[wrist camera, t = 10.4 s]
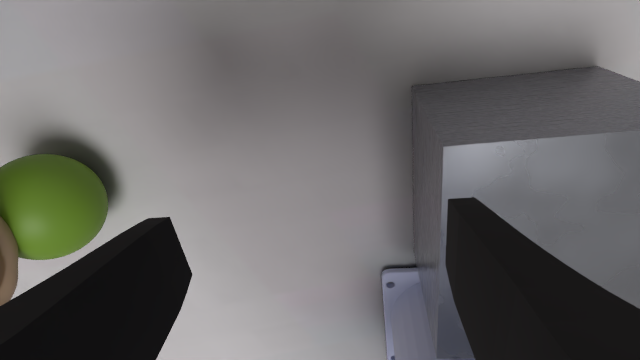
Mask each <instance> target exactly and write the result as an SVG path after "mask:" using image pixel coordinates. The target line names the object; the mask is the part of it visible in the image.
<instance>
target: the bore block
mask: <svg viewBox="0 0 640 360" xmlns="http://www.w3.org/2000/svg"><path fill="white" fill-rule="evenodd" d="M412 140H413V230H414V256H415V260H416V265H417V270H418V274H419V279H420V284H421V288H422V293H423V298H424V302H425V307H426V312H427V316H428V321H429V326H430V330H431V335H432V340H433V344H434V349H435V354H436V358H437V359H453V358H474V355H473V352H472V350H471V347H470V344H469V341H468V339H467V336H466V333H465V331H464V328H463V325H462V322H461V320H460V317H459V314H458V311H457V308H456V306H455V303H454V299H453V295H452V291H451V287H450V283H449V278H448V274H447V269H446V265H445V259H446V235H447V211H448V199H455V198H470V197H475V198H476V199H478V200H479V201H480V202H482V203H483V204H484V205H486V206H487V207H488V208H489V209H491V210H492V211H493V212H495V213H496V214H497V215H498V216H500V217H501V218H502V219H504V220H505V221H506V222H507V223H509V224H510V225H511V226H513V227H514V228H515V229H517V230H518V231H519V232H521V233H522V234H523V235H525V236H526V237H527V238H529V239H530V240H531V241H533V242H534V243H536V244H537V245H538V246H540V247H541V248H543V249H544V250H545V251H547V252H548V253H550V254H551V255H553V256H554V257H556V258H557V259H559V260H560V261H562V262H563V263H565V264H566V265H568V266H569V267H571V268H572V269H574V270H575V271H577V272H578V273H580V274H582V275H583V276H585V277H586V278H588V279H589V280H591V281H593V282H594V283H596V284H597V285H599V286H601V287H602V288H604V289H606V290H607V291H609V292H611V293H613V294H614V295H616V296H618V297H620V298H621V299H623V300H625V301H627V302H628V303H630V304H632V305H634V306H636V307H637V308H639V309H640V82H639V81H636V80H634V79H631V78H628V77H625V76H623V75H620V74H617V73H615V72H612V71H609V70H607V69H604V68H601V67H598V66H596V67H587V68H577V69H568V70H559V71H549V72H540V73H530V74H521V75H512V76H502V77H493V78H483V79H474V80H465V81H455V82H446V83H436V84H427V85H418V86H412Z"/></svg>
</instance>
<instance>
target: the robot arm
mask: <svg viewBox="0 0 640 360" xmlns="http://www.w3.org/2000/svg"><path fill="white" fill-rule="evenodd" d="M445 265H446V269H447V274H448V278H449V283H450V287H451V291H452V295H453V299H454V303H455V306H456V308H457V311H458V314H459V317H460V320H461V322H462V325H463V328H464V331H465V333H466V336H467V339H468V341H469V344H470V347H471V350H472V352H473V355H474V358H453V359H437V358H436V354H435V349H434V344H433V340H432V335H431V330H430V326H429V321H428V316H427V312H426V307H425V302H424V298H423V293H422V288H421V284H420V279H419V274H418V270H417V268H395V269H386V270H384V271H383V272H382V275H381V276H382V291H383V305H384V320H385V335H386V350H387V360H640V309H639V308H637V307H636V306H634V305H632V304H630V303H628V302H627V301H625V300H623V299H621V298H620V297H618V296H616V295H614V294H613V293H611V292H609V291H607V290H606V289H604V288H602V287H601V286H599V285H597V284H596V283H594V282H593V281H591V280H589V279H588V278H586V277H585V276H583V275H582V274H580V273H578V272H577V271H575V270H574V269H572V268H571V267H569V266H568V265H566V264H565V263H563V262H562V261H560V260H559V259H557V258H556V257H554V256H553V255H551V254H550V253H548V252H547V251H545V250H544V249H543V248H541V247H540V246H538V245H537V244H536V243H534V242H533V241H531V240H530V239H529V238H527V237H526V236H525V235H523V234H522V233H521V232H519V231H518V230H517V229H515V228H514V227H513V226H511V225H510V224H509V223H507V222H506V221H505V220H504V219H502V218H501V217H500V216H498V215H497V214H496V213H495V212H493V211H492V210H491V209H489V208H488V207H487V206H486V205H484V204H483V203H482V202H480V201H479V200H478V199H476V198H475V197H470V198H455V199H448V211H447V235H446V259H445ZM191 277H192V273H191V270H190V267H189V265H188V262H187V260H186V257H185V255H184V252H183V250H182V247H181V245H180V242H179V239H178V237H177V234H176V232H175V229H174V227H173V224H172V222H171V219H170V217H162V218H148V219H146V220H144V221H142V222H140V223H138V224H137V225H135V226H133V227H131V228H130V229H128V230H126V231H124V232H123V233H121V234H119V235H118V236H116V237H115V238H113V239H111V240H110V241H108V242H107V243H105V244H103V245H102V246H100V247H99V248H97V249H95V250H94V251H92V252H91V253H89V254H87V255H86V256H84V257H83V258H81V259H79V260H78V261H76V262H75V263H73V264H71V265H70V266H68V267H67V268H65V269H63V270H61V271H60V272H58V273H56V274H55V275H53V276H51V277H50V278H48V279H46V280H45V281H43V282H41V283H40V284H38V285H36V286H34V287H33V288H31V289H29V290H28V291H26V292H24V293H23V294H21V295H19V296H17V297H16V298H14V299H12V300H10V301H9V302H7V303H5V304H3V305H1V306H0V360H156V358H157V356H158V354H159V352H160V350H161V348H162V346H163V344H164V342H165V340H166V338H167V336H168V334H169V332H170V330H171V328H172V326H173V324H174V322H175V320H176V318H177V316H178V314H179V312H180V310H181V307H182V304H183V301H184V299H185V296H186V293H187V290H188V287H189V284H190V280H191ZM388 282H393V283H388Z"/></svg>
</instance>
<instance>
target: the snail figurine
mask: <svg viewBox="0 0 640 360" xmlns="http://www.w3.org/2000/svg"><path fill="white" fill-rule="evenodd" d="M107 212H108V198H107V193H106V190H105V188H104V185H103V184H102V182H101V180H100V179H99V178H98V176H97V175H96V174H95V173H94V172H93V171H92V170H91V169H90V168H88V167H87V166H85V165H84V164H82V163H80V162H78V161H76V160H74V159H71V158H68V157H65V156H60V155H54V154H36V155H30V156H25V157H21V158H18V159H15V160H13V161H11V162H9V163H7V164H5V165H3V166H2V167H0V306H1V305H3V304H5V303H7V302H9V301H10V300H11V298H12V296H13V294H14V292H15V289H16V286H17V281H18V257H20V258H24V259H31V260H47V259H54V258H59V257H62V256H66V255H68V254H71V253H73V252H75V251H77V250H79V249H81V248H82V247H84V246H85V245H86V244H88V243H89V242H90V241H91V240H92V239H93V238H94V237H95V236H96V235H97V234H98V232H99V231H100V230H101V228H102V226H103V224H104V222H105V219H106V216H107Z"/></svg>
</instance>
